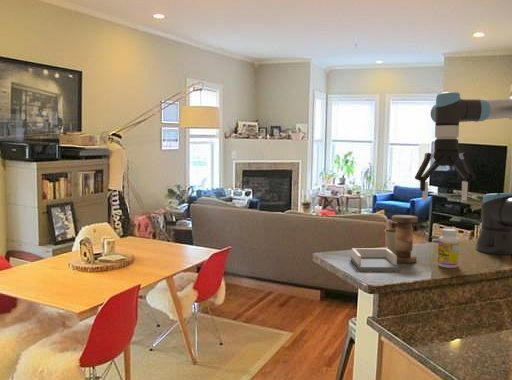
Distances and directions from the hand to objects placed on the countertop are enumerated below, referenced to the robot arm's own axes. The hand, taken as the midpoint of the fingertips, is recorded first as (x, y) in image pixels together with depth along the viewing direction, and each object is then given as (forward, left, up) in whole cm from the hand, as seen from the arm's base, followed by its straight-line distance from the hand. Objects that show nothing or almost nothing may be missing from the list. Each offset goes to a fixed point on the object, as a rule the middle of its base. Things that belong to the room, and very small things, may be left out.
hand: (444, 200), depth 166 cm
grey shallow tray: (+24, +1, -23) cm, 33 cm away
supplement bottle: (-2, +1, -23) cm, 23 cm away
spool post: (+11, -7, -23) cm, 26 cm away
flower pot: (+10, -20, -23) cm, 32 cm away
